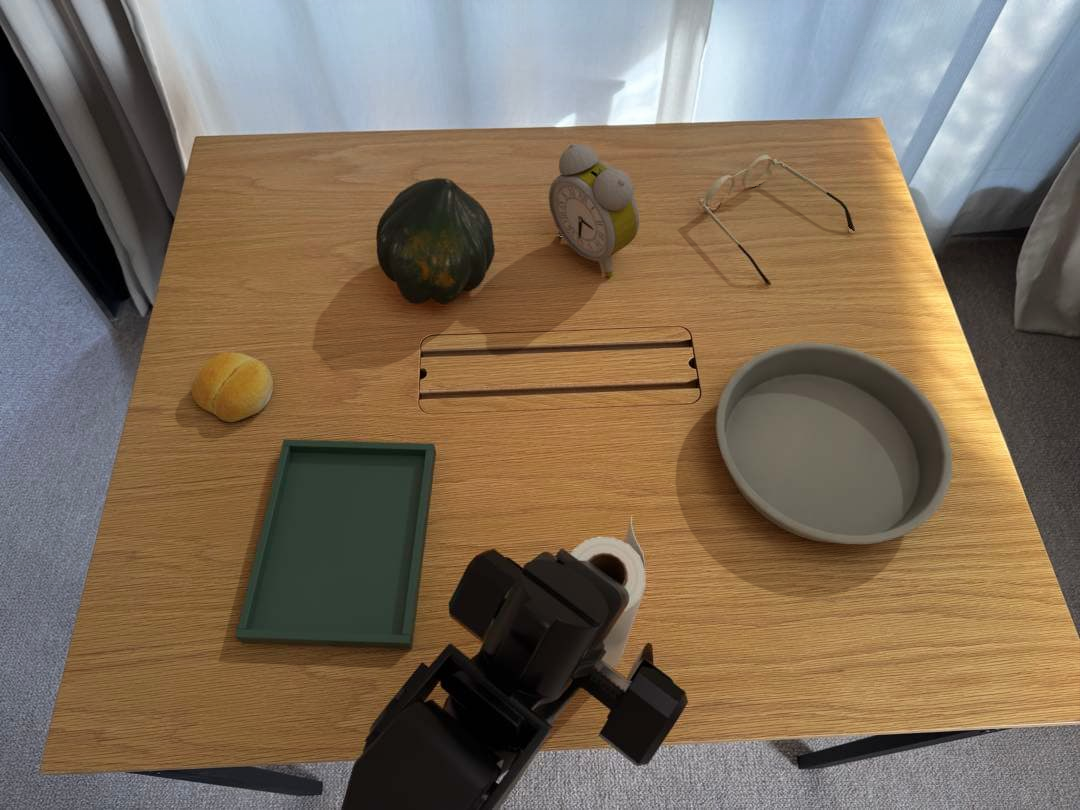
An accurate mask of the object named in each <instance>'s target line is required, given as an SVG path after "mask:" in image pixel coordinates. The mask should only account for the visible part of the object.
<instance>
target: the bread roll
mask: <svg viewBox="0 0 1080 810" xmlns="http://www.w3.org/2000/svg"><path fill="white" fill-rule="evenodd" d="M191 383H192V384H191V395H192V396H191V397H192V399H193V400H194V402H195V403H196V404H197V406H199V407H201V409H203V410H205V411H207V412H209V413H212V414H214V415H215V416H216V417H217V418H218V419H220V420H222V421H224V422H227V423H235V422H238V421H241V420H244V419H246V418H249V417H251V416H253V415H256V414H258V413H260V412H262V410H264V408H265V407H266V406H267V405H268V404H269V402H270V399H271V398H272V395H273V391H274V379H273V376H272V374H271V371H270V369H269V368H268V366H267V365H266V364H265V363H264V362H263V361H261V360H259V359H256V358H254V357H252V356H249V355H247V354H245V353H242V352H234V351H228V352H227V351H226V352H222V353H219V354H217V355H215V356H213V357H211V358H210V359H208V361H206V362H205V363H204V364H203V365H202V367H200V369H198V371H197V372H196V373H195V374H194V376H193V378H192V380H191Z"/></svg>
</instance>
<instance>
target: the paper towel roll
mask: <svg viewBox="0 0 1080 810" xmlns="http://www.w3.org/2000/svg"><path fill="white" fill-rule="evenodd" d="M570 554H571V555H572V556H574V557H575V558H576V559H578V560H584V561H588V562H590V563H592V564H593V565H595V566H596V567H597V568H598V569H600V570H601V571H602V572H604V573H605V574H607V575H608V576H609V577H611V578H612V579H614V580H615V581H617V582H618V583H620V584H621V585H623V586H624V587H625V588H626V589H627V591H628V593H629V603H628V605H627V607H626V608H625V610H624V611H623V613H622V614H621V616H620V617H619V619H618V620H617V622H616V623H615V625H614V626H613V628H612V629H611V631H610V632H609V634H608V635H607V637H606V639H605V640H604V641H603V643H604V646H605V647H604V650H605V651H606V653H605V655H604V657H603V658H602V660H603V661H604V662H606V663H607V664H608V665H610V666H611V667H612V668H614V669H615V670H616V671H617V669H618V667H619V664H620V662H621V660H622V658H623V655H624V652H625V649H626V647H627V642H628V640H629V637H630V634H631V631H632V627H633V625H634V622H635V619H636V616H637V613H638V610H639V608H640V604H641V602H642V598H643V596H644V592H645V590H646V587H647V583H646V582H647V581H646V580H647V579H646V578H647V577H646V572H647V571H646V562H645V554H644V551H643V549H642V547H641V545H640V543H639V542H638V540H637V538H636V536H635V532H634V527H633V516H632V515H631V516H630V520H629V524H628V528H627V531H626V536H625V540H624V541H623V540H621V539H619V538H617V537H613V536H611V537H610V536H600V535H599V536H595V537H593V538H589V539H585V540H584V541H582V542H581V543H580V544H578V545H577V546H576V547H575V548H574V549H572V550H571V553H570Z"/></svg>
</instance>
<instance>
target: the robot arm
mask: <svg viewBox="0 0 1080 810" xmlns="http://www.w3.org/2000/svg"><path fill="white" fill-rule="evenodd" d="M628 603H629V593H628V591H627V589H626V588H625V587H624V586H623V585H621V584H620V583H618V582H617V581H615V580H614V579H612V578H611V577H609V576H608V575H607V574H605V573H604V572H602V571H601V570H600V569H598V568H597V567H596V566H595V565H593V564H592V563H590V562H588V561H584V560H578V559H576V558H575V557H574V556H572V555H571V553H570V552H568V551H567V550H565V549H564V548H560V550H558V551H557V553H556V554H555V555H554V554H552V553H551V552H549V551H542V552H541V553H540V554H538V555H537V556H535V557H534V558H533V559H531V560H530V561H528V562H526V563H525V564H524V565H523V566H521V564H519V563H517V562H516V561H514V560H513V559H512V558H511V557H508V556H504V555H503V554H501V553H500V552H499V551H497V550H496V549H495V548H492V549H491V548H490V549H486V550H483V551H482V552H480V553H479V554H476V555H475V556H474V557H473V558H472V559H471V560H470V562H469V563H468V564H467V566H466V568H465V570H464V572H463V574H462V576H461V578H460V580H459V582H458V584H457V586H456V588H455V589H454V592H453V593H452V596H451V598H450V600H449V602H448V613H449V617H450V619H452V620H453V621H455V622H456V624H458V625H460V626H461V627H462V628H463V629H464V630H466V631H467V632H468V633H469V634H471V635H472V636H473V637H475V638H476V639H477V640H478V641H480V642H481V643H482V644H481V645H480V649H479V652H478V653H476V654H475V655H473V656H472V657H471V658H470V657H468V656H467V655H466V654H465V653H463V652H462V651H461V650H460V649H459V648H458V647H456V646H455V645H454V644H453V643H449V644H448V645H446V646H445V648H444V649H443V650H442V651H441V652H440V653H439V655H437V656H436V658H435V659H434V660H433V661H432V662H431V663H430V664H429V666H428V665H427V664H426V663H424V662H423V661H422V662H420V664H419V665H418V667H416V669H415V670H414V671H413V673H412V674H411V675H410V676H409V678H407V680H406V681H405V682H404V684H403V685H402V686H401V687H400V689H398V691H397V692H396V694H394V696H393V697H392V698H391V699H390V701H389V702H388V704H387V705H386V706H385V707H384V709H382V711H381V712H380V714H379V715H378V716H377V717H376V718H375V720H374V721H373V723H371V725H370V727H369V734H368V735H367V736H366V738H365V740H364V742H365V744H364V746H363V749H362V751H361V752H362V754H360V756H359V757H358V758H357V759H356V760H355V762H354V763H353V766H352V769H351V773H350V776H349V779H348V783H347V785H346V786H347V787H346V790H345V793H344V797H343V801H342V804H341V807H340V810H500V809H501V807H502V806H503V805H504V803H505V801H506V800H507V799H508V797H509V796H510V794H511V793H512V791H513V790H514V789H515V787H516V786H517V784H518V782H519V781H520V780H521V778H522V777H523V776H524V774H525V772H526V771H527V769H528V768H529V766H530V765H531V763H532V762H533V761H534V759H535V758H536V757H537V755H538V754H539V752H540V750H541V749H542V747H543V745H544V743H545V741H546V740H547V739H548V736H549V735H550V733H551V732H552V730H553V729H554V726H553V725H552V724H553V722H555V720H557V718H558V717H559V716H560V715H561V713H562V712H564V711H565V709H566V708H567V707H568V706H569V705H570V704H571V702H573V700H574V699H575V698H576V697H577V696H578V694H580V692H581V691H582V690H584V691H586V693H588V694H589V695H590V696H592V697H593V698H594V699H595V700H596V701H598V702H599V703H601V704H602V705H603V706H605V708H607V709H608V710H609V712H608V714H607V716H606V719H607V720H606V722H605V723H604V725H603V726H602V728H601V729H600V731H599V733H598V735H597V736H598V737H599V738H600V739H602V740H603V741H604V742H605V743H607V744H608V745H609V746H610V747H612V748H613V749H614V750H615V751H617V752H618V753H619V754H620V755H622V756H623V757H624V758H625V759H627V761H629V762H630V763H631V764H633V765H634V766H635V767H640V766H648V765H649V764H650V762H651V761H652V760H653V758H654V757H655V755H656V753H657V752H658V750H659V749H660V747H661V746H662V744H663V743H664V741H665V739H666V738H667V736H668V735H669V734H670V732H671V730H672V729H673V728H674V727H675V725H676V723H677V722H678V721H679V718H681V717H680V716H681V715H682V713H683V712H684V710H685V708H686V706H687V705H688V704H689V701H688V696H687V694H686V691H685V690H684V689H682V688H681V687H680V686H679V685H677V684H676V683H674V680H673V678H671V677H670V676H669V675H667V674H666V672H664V671H662V670H661V669H660V668H658V667H657V666H656V665H655V664H654V663H655V662H654V649H653V644H652V643H650V642H647V643H646V644H645V645H644V647H643V648H642V649H641V651H640V653H639V654H638V656H637V658H636V659H635V661H634V662H633V664H632V666H631V668H630V670H629V672H628V674H627V676H626V677H625V675H623V674H621V673H620V672H619V671H618V670H617V669H616V670H615V669H614V668H612V667H611V666H610V665H608V664H607V663H606V662H604V661H603V660H602V658H603V657H604V655H605V653H606V651H605V650H604V647H605V646H604V643H603V641H604V640H605V639H606V637H607V635H608V634H609V632H610V631H611V629H612V628H613V626H614V625H615V623H616V622H617V620H618V619H619V617H620V616H621V614H622V613H623V611H624V610H625V608H626V607H627V605H628ZM438 684H439V685H440V688H441V689H442V690H443V691H444V692H445V693H446V694H448V695H447V697H446V699H445V701H444V703H443V706H441V705H440V704H438V703H437V702H436V701H435V700H434V699H429V700H427V699H428V698H429V696H430V695H431V694H432V693H433V691H434V690H435V688H436V687H437V686H438ZM502 775H503V777H502V779H501V780H500V781H499V783H498V780H499V778H500V777H501V776H502Z"/></svg>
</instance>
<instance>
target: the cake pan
mask: <svg viewBox="0 0 1080 810" xmlns="http://www.w3.org/2000/svg"><path fill="white" fill-rule="evenodd" d="M719 397H720V398H719V400H718V404H717V409H716V415H715V416H716V418H715V431H716V438H717V444H718V448H719V450H720V453H721V457H722V459H723V461H724V463H725V466H726V467H727V469H728V471H729V474H730V476H731V479H732V481H733V483H734V484H735V486H736V487H737V489H738V490H739V492H740V493H741V495H742V496H743V498H745V500H746V502H748V504H750V505H751V506H752V507H753V509H754V510H756V512H758V513H759V514H760V515H761V516H762V517H764V518H765V519H767V520H768V521H769V522H771V523H772V524H774V525H775V526H777V527H779V528H780V529H782V530H784V531H786V532H788V533H790V534H793V535H795V536H798V537H801V538H803V539H807V540H810V541H815V542H820V543H826V544H846V545H870V544H878V543H879V544H880V543H883V542H887V541H891V540H894V539H898V538H901V537H903V536H905V535H907V534H909V533H911V532H913V531H915V530H916V529H918V528H919V527H920V526H922V525H924V523H926V522H927V521H928V520H930V518H931V517H933V515H934V514H935V513H936V512H937V511H938V510H939V508H940V506H941V505H942V503H943V502H944V500H945V498H946V496H947V494H948V492H949V488H950V485H951V480H952V475H953V467H954V466H953V454H952V447H951V441H950V438H949V434H948V431H947V430H946V427H945V424H944V423H943V420H942V418H941V416H940V415H939V413H938V411H937V410H936V407H934V405H933V404H932V403H931V401H930V399H929V398H927V396H926V394H925V393H923V391H921V389H920V388H919V387H918V386H916V385H915V384H914V383H913V382H912V381H911V380H910V379H909V378H908V377H906V376H905V375H904V374H902V373H901V372H900V371H898V370H897V369H895V367H893V366H891V365H889V364H888V363H886V362H884V361H883V360H881V359H878V358H877V357H875V356H872V355H870V354H867V353H866V352H863V351H860V350H857V349H853V348H851V347H846V346H843V345H838V344H832V343H825V342H797V343H789V344H784V345H780V346H776V347H773V348H770V349H768V350H766V351H763V352H761V353H759V354H757V355H756V356H754V357H752V358H751V359H749V360H748V361H747V362H745V363H744V364H742V365H741V366H740V367H739V368H738V369H737V371H735V373H733V375H732V376H731V377H730V379H729V380H728V381H727V383H726V385H725V386H724V388H723V390H722V392H721V395H720V396H719Z"/></svg>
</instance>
